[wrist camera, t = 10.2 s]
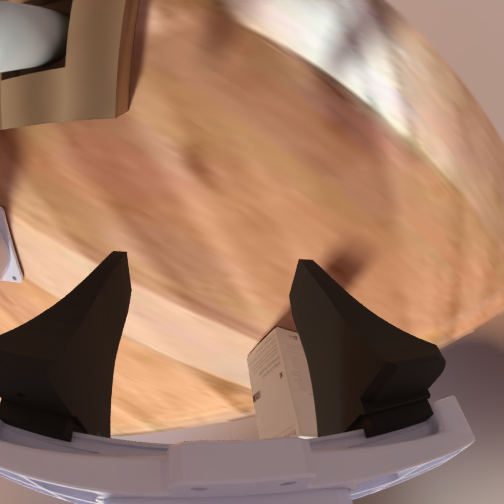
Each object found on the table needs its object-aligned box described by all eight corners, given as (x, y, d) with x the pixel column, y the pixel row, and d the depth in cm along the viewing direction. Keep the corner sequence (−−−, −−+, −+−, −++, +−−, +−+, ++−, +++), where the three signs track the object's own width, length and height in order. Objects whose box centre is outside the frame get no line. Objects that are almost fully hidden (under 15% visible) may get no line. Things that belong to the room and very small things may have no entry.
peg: (29, 72, 14) (-35, 87, 8) (27, 22, 11) (-36, 21, 6) (76, 56, 14) (17, 60, 8) (76, 4, 12) (19, -12, 6)
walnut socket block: (-7, 125, 15) (-29, 135, 13) (3, -15, 9) (-18, -19, 6) (128, 110, 17) (115, 118, 15) (149, -50, 11) (140, -65, 8)
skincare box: (274, 324, 30) (300, 435, 20) (309, 334, 32) (340, 435, 22) (244, 358, 33) (258, 459, 23) (277, 366, 35) (297, 459, 25)
